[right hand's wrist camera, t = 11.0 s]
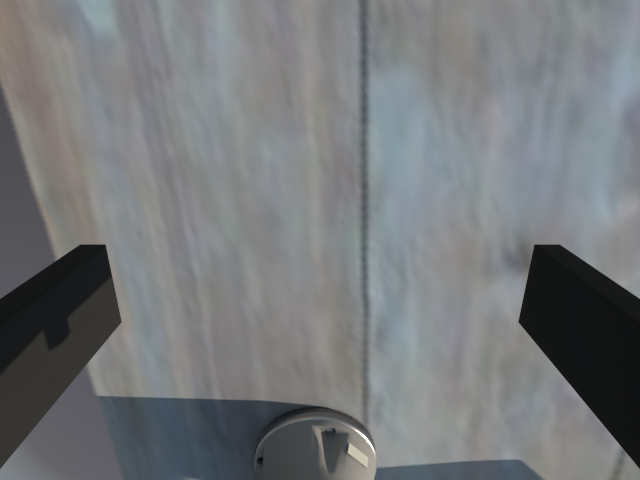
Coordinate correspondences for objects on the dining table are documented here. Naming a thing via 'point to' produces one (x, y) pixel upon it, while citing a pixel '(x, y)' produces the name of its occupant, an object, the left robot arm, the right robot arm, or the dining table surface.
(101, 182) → the dining table surface
